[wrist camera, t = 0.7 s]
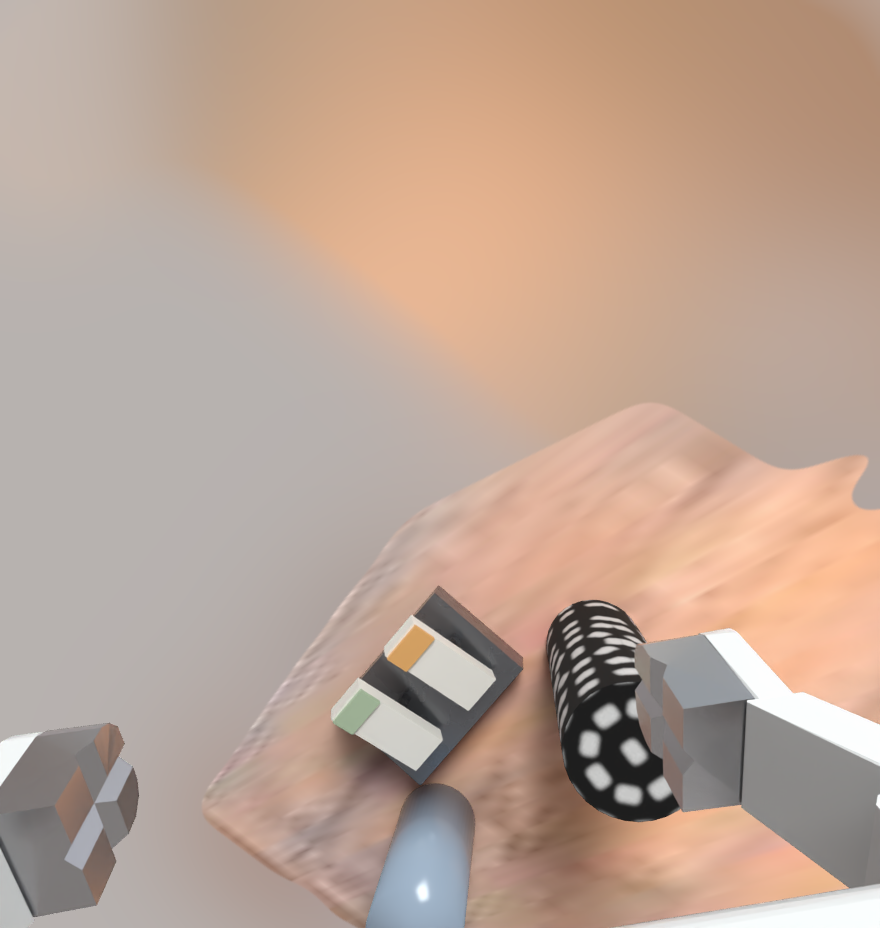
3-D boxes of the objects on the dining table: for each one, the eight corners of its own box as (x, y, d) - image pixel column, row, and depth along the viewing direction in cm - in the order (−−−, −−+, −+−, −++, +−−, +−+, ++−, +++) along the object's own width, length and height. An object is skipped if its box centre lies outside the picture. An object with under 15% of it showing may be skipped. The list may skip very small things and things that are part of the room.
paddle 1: (492, 670, 55) (496, 681, 53) (465, 701, 55) (469, 713, 54) (411, 614, 52) (413, 624, 51) (383, 647, 53) (385, 658, 51)
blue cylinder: (490, 819, 59) (482, 935, 45) (442, 873, 60) (419, 1003, 46) (432, 768, 59) (407, 866, 45) (385, 821, 60) (346, 935, 46)
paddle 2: (440, 729, 55) (443, 742, 54) (414, 759, 56) (416, 773, 54) (358, 677, 53) (358, 689, 51) (331, 709, 53) (331, 722, 52)
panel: (522, 657, 58) (523, 675, 53) (425, 768, 59) (417, 795, 55) (438, 585, 59) (432, 597, 54) (344, 696, 60) (330, 717, 56)
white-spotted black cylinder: (660, 656, 57) (738, 770, 37) (584, 709, 58) (620, 849, 38) (602, 581, 57) (647, 653, 37) (527, 635, 58) (533, 734, 38)
